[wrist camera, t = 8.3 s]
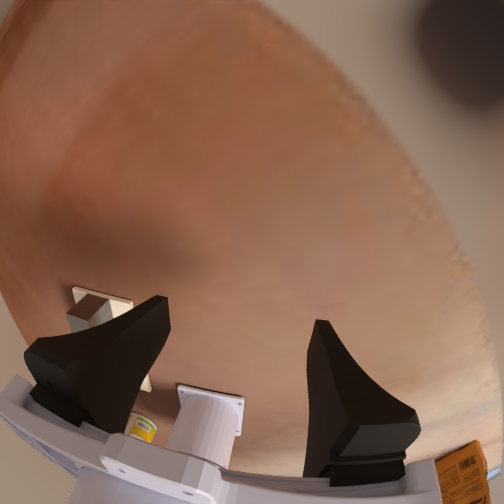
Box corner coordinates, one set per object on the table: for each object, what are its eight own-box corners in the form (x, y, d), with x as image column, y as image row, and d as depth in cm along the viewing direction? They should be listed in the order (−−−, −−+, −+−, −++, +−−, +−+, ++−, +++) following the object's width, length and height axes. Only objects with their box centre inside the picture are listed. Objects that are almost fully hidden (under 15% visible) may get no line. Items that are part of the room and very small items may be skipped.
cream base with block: (151, 389, 31) (138, 415, 27) (102, 371, 32) (86, 394, 27) (132, 300, 25) (108, 327, 21) (75, 286, 26) (49, 307, 22)
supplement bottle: (133, 425, 37) (112, 467, 28) (122, 407, 35) (97, 452, 26) (161, 433, 36) (141, 478, 27) (151, 416, 34) (128, 465, 25)
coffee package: (479, 447, 33) (496, 516, 13) (433, 471, 37) (444, 542, 17) (481, 434, 30) (503, 514, 10) (430, 462, 34) (442, 544, 14)
